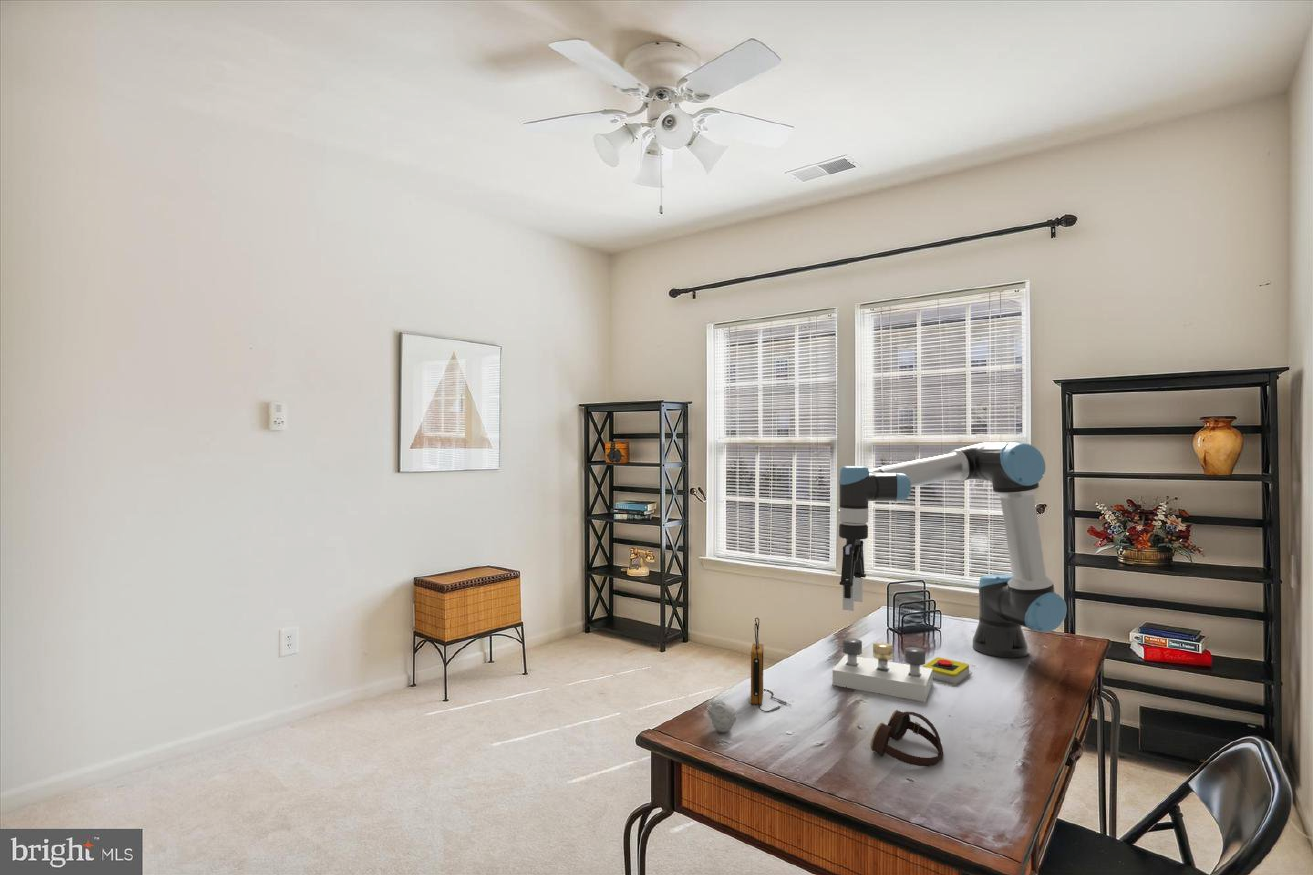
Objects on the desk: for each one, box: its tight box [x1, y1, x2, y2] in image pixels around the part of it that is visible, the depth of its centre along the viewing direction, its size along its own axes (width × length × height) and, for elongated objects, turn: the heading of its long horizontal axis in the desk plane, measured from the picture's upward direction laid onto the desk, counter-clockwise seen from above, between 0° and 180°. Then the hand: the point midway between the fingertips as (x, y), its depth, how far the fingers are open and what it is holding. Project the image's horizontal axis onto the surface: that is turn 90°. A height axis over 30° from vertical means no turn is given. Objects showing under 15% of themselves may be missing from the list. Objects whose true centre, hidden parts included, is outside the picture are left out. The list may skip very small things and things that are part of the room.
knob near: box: [904, 646, 926, 677], centre depth 177 cm, size 5×5×7 cm
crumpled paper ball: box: [706, 699, 737, 733], centre depth 152 cm, size 6×7×7 cm
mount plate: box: [832, 654, 934, 703], centre depth 181 cm, size 23×14×4 cm, turn 61°
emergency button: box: [922, 656, 973, 687], centre depth 188 cm, size 9×4×15 cm
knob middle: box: [872, 642, 894, 672], centre depth 181 cm, size 5×5×7 cm
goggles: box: [870, 709, 944, 767], centre depth 142 cm, size 15×13×10 cm
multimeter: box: [750, 617, 792, 713], centre depth 169 cm, size 15×10×20 cm
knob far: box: [842, 637, 863, 667], centre depth 185 cm, size 5×5×7 cm
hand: (852, 605), depth 185 cm, fingers open, 10 cm apart
